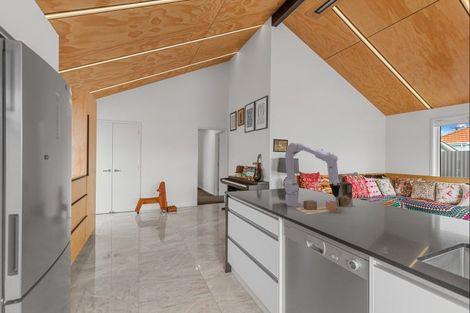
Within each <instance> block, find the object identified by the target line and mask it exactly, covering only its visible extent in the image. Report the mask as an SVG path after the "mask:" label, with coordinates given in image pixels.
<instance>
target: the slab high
mask: <svg viewBox="0 0 470 313" xmlns="http://www.w3.org/2000/svg"><path fill="white" fill-rule="evenodd" d="M304 205H306V206H318V203H317V201H315V200H313V199H308V200H306V199H305V200H303V206H304Z"/></svg>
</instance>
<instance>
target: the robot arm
mask: <svg viewBox="0 0 470 313" xmlns="http://www.w3.org/2000/svg"><path fill="white" fill-rule="evenodd" d="M286 147H287V148H286V150H285V156H284V158H285V170H286V179H287V180H286V182H285V186H284V191H285V193H286V194H285V198H284V199H285V203H284V204H285V206H288V207H297V206H298V207H299V203H298V202H299V201H298V200H299V198H298V196H299V194H298V192H299V190H300V186H299V184H298V181H297V179H296V171H295V170H296V169H295V161H294V157H296V155H297V154H298V153H300V152H301V151H304V152H307V153H309V154H312V155H314V157H315V158H317V159H318V160H320V161H323V162H325V163H326V166H327V176H328V183H329V184H328V185H329V187H330V189H331V192H332V195H333V196H334V198H335V197H338V195H339V188H340V185H338V184H339V183H342V180H340V178H339V169H338V156H337V155H336V154H335V153H332V154H331V152H328V151H325V150H324V149H323V148H322V149H320V148H319V149H315V148H313V147H311V146H309V145H307V144H304V143H301V142H290V143H288V145H287V146H286Z"/></svg>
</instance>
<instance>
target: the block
mask: <svg viewBox="0 0 470 313" xmlns="http://www.w3.org/2000/svg"><path fill="white" fill-rule="evenodd" d="M325 206H326V210H329V211H335V210H338V206H337V203H336V201H333V200H329V201H328V200H326V201H325Z"/></svg>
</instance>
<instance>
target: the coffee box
mask: <svg viewBox="0 0 470 313" xmlns="http://www.w3.org/2000/svg"><path fill="white" fill-rule="evenodd" d="M338 183H339V184H338V185H340V188H339V195H338V197H334V198H335V202H336V203H337V208H338V207H339V208H348V207H349V208H351V207H352V208H353V185H352V184H353V183H352V182H351V183H350V182H338Z"/></svg>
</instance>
